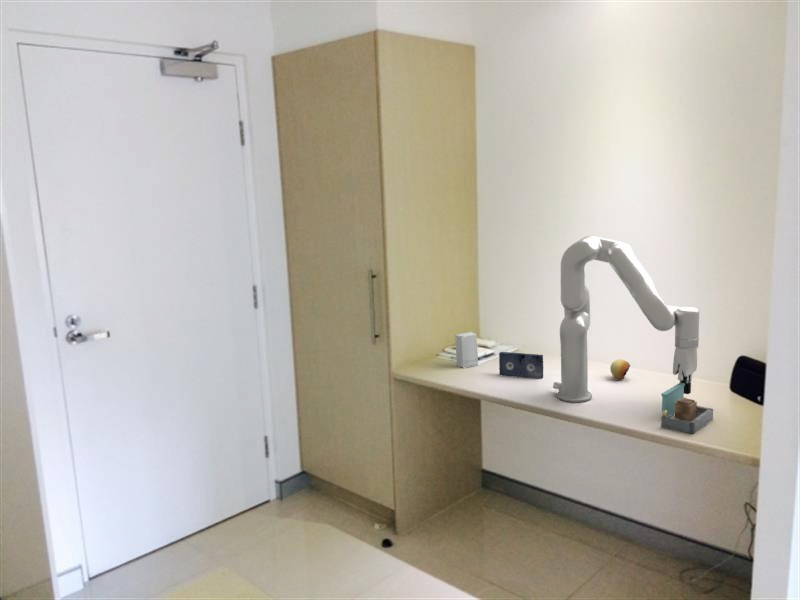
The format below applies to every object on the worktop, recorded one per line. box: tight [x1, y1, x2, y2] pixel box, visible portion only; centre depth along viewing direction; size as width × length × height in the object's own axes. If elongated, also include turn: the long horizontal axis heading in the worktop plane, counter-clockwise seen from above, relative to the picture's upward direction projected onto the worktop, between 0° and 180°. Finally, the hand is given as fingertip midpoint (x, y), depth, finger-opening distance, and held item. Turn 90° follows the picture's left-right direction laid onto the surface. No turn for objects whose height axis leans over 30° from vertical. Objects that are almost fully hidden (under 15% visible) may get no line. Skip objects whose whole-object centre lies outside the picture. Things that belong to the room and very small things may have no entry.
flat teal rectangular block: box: [661, 382, 685, 417], centre depth 219 cm, size 2×15×9 cm, turn 134°
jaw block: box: [674, 397, 698, 421], centre depth 211 cm, size 5×5×8 cm
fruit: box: [609, 359, 631, 380], centre depth 259 cm, size 8×8×8 cm
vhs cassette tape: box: [498, 351, 544, 380], centre depth 269 cm, size 18×3×10 cm, turn 63°
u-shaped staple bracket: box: [660, 405, 714, 435], centre depth 210 cm, size 10×17×6 cm, turn 134°
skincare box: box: [455, 331, 479, 368], centre depth 289 cm, size 8×6×15 cm
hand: (685, 392), depth 226 cm, fingers closed
